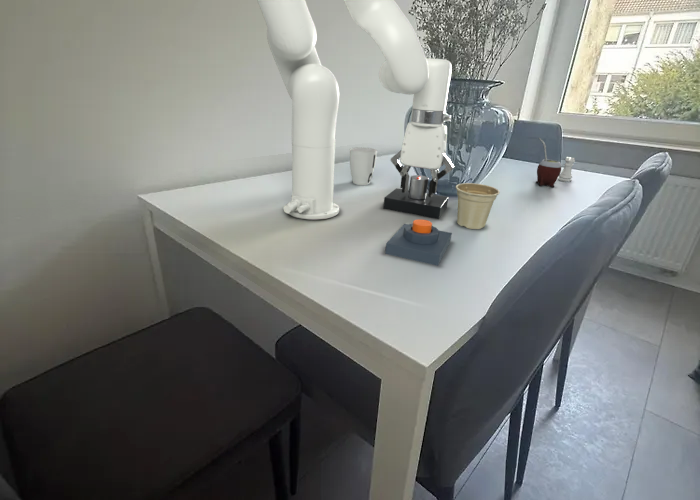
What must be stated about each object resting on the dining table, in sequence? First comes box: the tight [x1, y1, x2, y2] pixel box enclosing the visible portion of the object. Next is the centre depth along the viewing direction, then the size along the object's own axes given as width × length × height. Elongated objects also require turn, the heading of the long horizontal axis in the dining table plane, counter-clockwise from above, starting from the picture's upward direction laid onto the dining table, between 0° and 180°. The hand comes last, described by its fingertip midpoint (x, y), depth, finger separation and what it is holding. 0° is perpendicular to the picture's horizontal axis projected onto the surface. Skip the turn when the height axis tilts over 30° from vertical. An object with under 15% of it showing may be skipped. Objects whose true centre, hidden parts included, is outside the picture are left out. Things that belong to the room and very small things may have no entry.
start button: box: [412, 218, 433, 233], centre depth 74 cm, size 4×4×2 cm
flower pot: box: [455, 182, 501, 230], centre depth 88 cm, size 9×9×9 cm
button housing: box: [384, 222, 453, 267], centre depth 75 cm, size 12×10×4 cm
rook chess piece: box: [557, 156, 576, 183], centre depth 136 cm, size 4×4×8 cm
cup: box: [349, 146, 378, 186], centre depth 117 cm, size 8×8×10 cm
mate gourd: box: [535, 137, 562, 188], centre depth 127 cm, size 8×8×15 cm
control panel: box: [383, 187, 449, 220], centre depth 98 cm, size 14×10×3 cm
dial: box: [408, 174, 430, 200], centre depth 97 cm, size 4×4×5 cm
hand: (417, 192), depth 97 cm, fingers open, 6 cm apart
